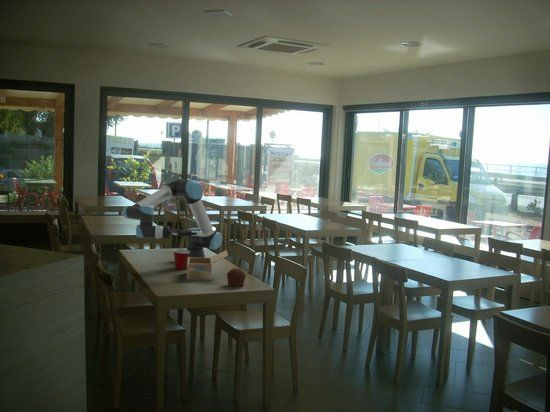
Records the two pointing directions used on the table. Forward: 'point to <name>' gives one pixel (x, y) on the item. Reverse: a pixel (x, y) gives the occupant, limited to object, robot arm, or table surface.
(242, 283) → the muffin
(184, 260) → the plastic cup
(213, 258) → the flap
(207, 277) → the light wood open box
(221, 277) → the table surface
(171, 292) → the table surface
